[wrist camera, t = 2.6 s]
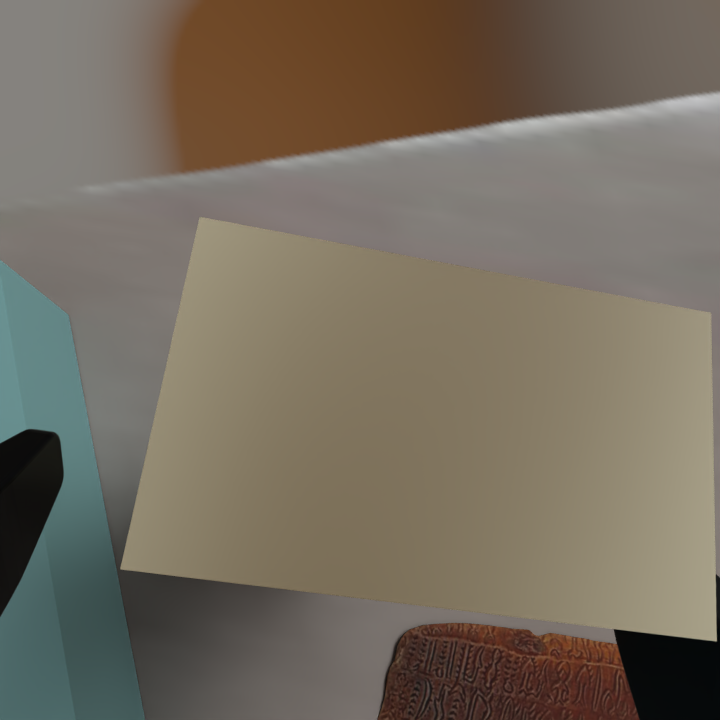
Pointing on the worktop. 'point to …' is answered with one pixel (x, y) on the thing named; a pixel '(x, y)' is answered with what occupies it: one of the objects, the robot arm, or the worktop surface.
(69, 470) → the end cap
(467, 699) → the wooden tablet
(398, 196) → the worktop surface
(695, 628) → the slat
